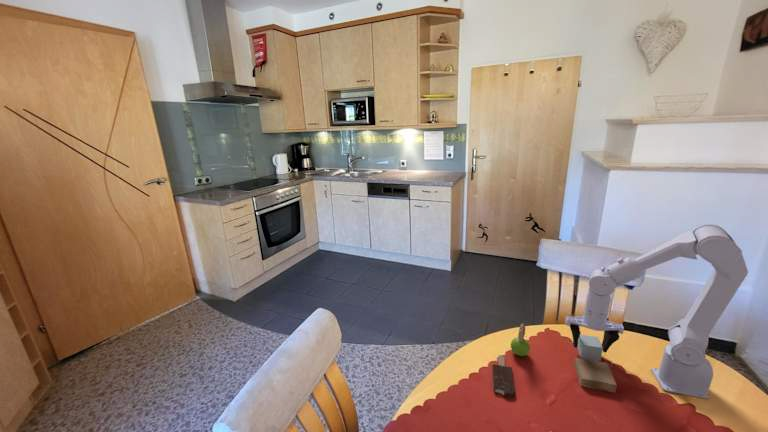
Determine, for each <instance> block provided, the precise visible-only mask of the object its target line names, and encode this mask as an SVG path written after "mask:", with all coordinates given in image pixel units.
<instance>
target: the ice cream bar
mask: <svg viewBox="0 0 768 432" xmlns="http://www.w3.org/2000/svg"><path fill="white" fill-rule="evenodd" d="M497 363H498V364H492V367H493V368H492V380H493V381H492V382H493V384H494V385H493V394H494V393H495V392H496V393H497V392H498V394H500V395H502V396H503V397H504V398H508V399H512V398H515V395H516V389H515V383H514V376H513V375H514V374H513V368H512V367H511V366H506V365H505V357H504V356H503V355H498V356H497Z"/></svg>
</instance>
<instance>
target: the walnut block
mask: <svg viewBox="0 0 768 432" xmlns="http://www.w3.org/2000/svg"><path fill="white" fill-rule="evenodd" d="M574 369H575V372H576V375H577V379H578V382H579V385H580V387H583V388H588V389H589V388H590V389H594V390H599V391H604V392H609V393H614V394H615V393H616V389H617V381H616V380H615V377H614V375H613V373H612V371H611V369H610V365H609V363H607V362H602V361H600V362H599V361H593V360H588V359H582V358H581V357H575V358H574Z"/></svg>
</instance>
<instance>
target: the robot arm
mask: <svg viewBox="0 0 768 432" xmlns="http://www.w3.org/2000/svg"><path fill="white" fill-rule="evenodd" d="M697 255H698V256H700V257H701V258H702V260H704V261H706V262H708V263H710V264H711V265H712V267H713V270H712V271H711V273H710V275H709V276H708V278H707V280H706V281H705V283H704V285H703V287H702V289H701V290H700V292H699V294H698V295H697V297H696V298H695V301H694V302H693V304H692V306H691V307H690V309H689V311H688V313H687V314H686V316H685V317H684V318H681V319H679V320H678V322H677V323H676V324H675V325H673V326H671V327H670V328H669V329H668V331H667V335H668V339H669V343H668V344H667V345H666V346H665V347H664V351H663V354H662V358H661V362H660V365H659V368H655V367H651V369H650V370H651V372H652V374H653V375H654V376H655V377H654V378H656V380H657V382H658V383H659V385H660V387H661V389H662V390H663V391H665V392H669V393H675V394H681V395H685V396H690V397H697V398H702V399H707V400H708V399H709V397H710V396H709V395H708V393H709V390H710V387H711V384H712V382H713V378H714V370H713V366H712V364H711V362H710V360H709V359H707V357H706V349H707V348H708V345H709V338H710V333H711V331H712V330H713V328H714V327H715V326H716V324H717V322H718V321H719V319H720V318H721V316H722V315H723V313H724V311H725V310H726V308H727V307H728V306H729V304H730V302H731V301H732V300H733V298H734V296H735V295H736V293H737V292H738V290H739V288H740V287H741V285H742V283H743V282H744V280H746V277H747V276H748V273H749V271H748V270H749V269H748V267H747V264H746V261H745V258H744V255H743V250H742V249H741V248H740V247H739V246H738V245H737V243H736V241H735V240H734V239H733V237H732V236H731V235H730V234H729V233H728V232H727V231H726V230H725V229H724V228H723V227H722V226H719V225H716V224H709V223H708V224H702V225H699V226H697V227H695V228H694V229H693V230H692V229H691V230H688V231H687V230H686V231H685V232H683V233H681V234H680V235H678V236H676V237H675V238H672V239H670V240H669V241H667V242H665V243H663V244H661V245H658V246H657V247H655V248H654V249H651V250H649V251H647V252H646V253H644V254H642V255H640V256H639V257H631V256H627V257H625V258H623V257H619V258H618V259H617V261H616V262H615V263H613V264H610V265H608V266H606V267H605V266H602V267H601V268H600V269H599V268H598V269H595V270H593V271H592V272H591V274H590V275H589V281H588V289H587V291H588V292H587V293H586V300H585V305H584V310H583V311H584V312H583V315H582V316H581V315H580V316H565V318H564V319H565V321H564V323H565V325H566V327H567V326H568V327H570V332H571V335H572V345H573V348H577V346H578V340H579V336H580V334H581V330H580V327H583V328H585V329H588V330H593V331H596V332H597V331H598V332H603V339H602V342H601V345H602V347H603V350H602V353H607V352H608V350H609V349H610V347H612V345H613V344H614V343H616V342H617V341H618V340H619V339H620V334H621V335H623V334H624V332H625V328H624V326H623V324H622V323H616V322H613V321H610V320H608V315H609V311H610V306H611V300H612V297H611V295H612V294H613V293H614V291H615V289H616V288H617V287H621V286H623V285H626V284H628V283H630V282H633V281H635V280H637V279H639V278H642V277H644V274H645V271H646V270H648V269H650V268H653V267H656V266H659V265H661V264H663V263H666V262H669V261H672V260H674V259H678V258H685V259H689V260H696V261H697V260H698V257H697ZM581 335H582V334H581ZM577 349H578V348H577Z"/></svg>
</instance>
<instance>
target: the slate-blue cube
mask: <svg viewBox="0 0 768 432" xmlns="http://www.w3.org/2000/svg"><path fill="white" fill-rule="evenodd" d="M577 351H578V354H579V356H580V357H579V358H580V359H586V360H592V361H597V362H599V361H600V362H601V360H602V359H601V358H602V354H603V347H602V342H601V341H600V338H599V337H598V336H592V335H586V334H580V336H579V339H578V346H577Z"/></svg>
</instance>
